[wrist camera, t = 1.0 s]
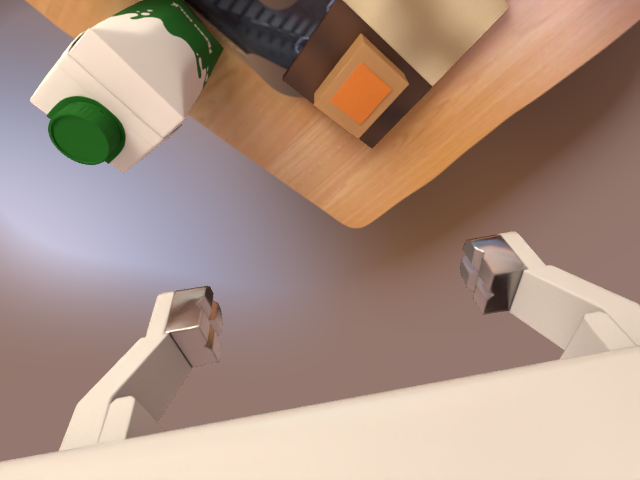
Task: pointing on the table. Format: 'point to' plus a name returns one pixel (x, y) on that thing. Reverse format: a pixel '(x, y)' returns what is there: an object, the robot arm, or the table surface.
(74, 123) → the milk carton
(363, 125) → the coffee packet
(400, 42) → the board
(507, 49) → the table surface
